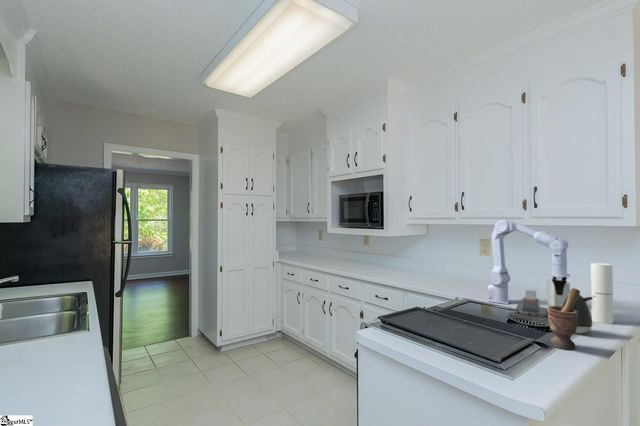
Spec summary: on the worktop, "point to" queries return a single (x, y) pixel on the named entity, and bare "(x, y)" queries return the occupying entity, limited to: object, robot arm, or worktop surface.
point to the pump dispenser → (582, 314)
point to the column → (531, 295)
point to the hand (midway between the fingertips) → (559, 293)
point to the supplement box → (553, 297)
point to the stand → (531, 307)
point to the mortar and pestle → (564, 322)
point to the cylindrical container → (602, 293)
